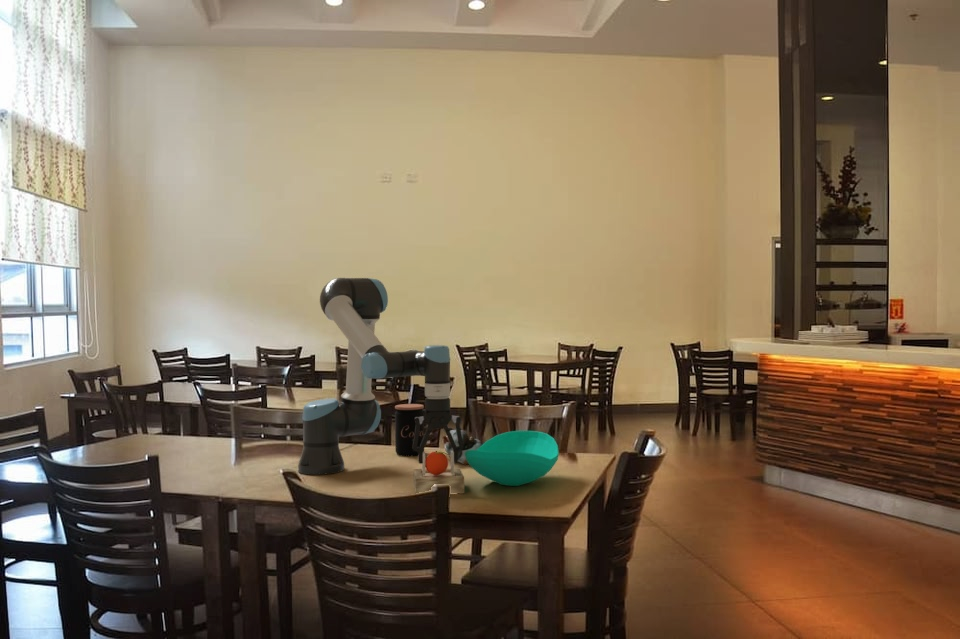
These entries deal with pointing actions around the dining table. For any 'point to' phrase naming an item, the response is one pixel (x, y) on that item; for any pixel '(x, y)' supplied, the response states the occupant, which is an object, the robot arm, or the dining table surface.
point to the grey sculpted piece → (467, 443)
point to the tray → (439, 480)
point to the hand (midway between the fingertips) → (438, 473)
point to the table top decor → (515, 457)
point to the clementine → (436, 463)
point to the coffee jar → (407, 428)
